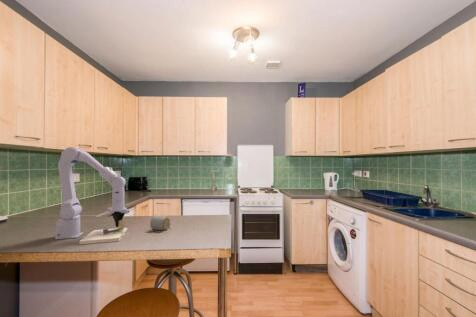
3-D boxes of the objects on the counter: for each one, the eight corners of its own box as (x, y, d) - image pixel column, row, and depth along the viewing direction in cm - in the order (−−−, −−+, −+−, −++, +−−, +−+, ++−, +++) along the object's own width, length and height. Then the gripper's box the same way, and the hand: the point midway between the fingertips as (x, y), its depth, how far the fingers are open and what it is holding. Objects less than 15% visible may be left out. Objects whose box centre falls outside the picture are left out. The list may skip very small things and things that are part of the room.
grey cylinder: (163, 232, 122) (163, 217, 122) (149, 231, 124) (149, 216, 124) (173, 227, 132) (174, 213, 133) (161, 226, 134) (161, 212, 135)
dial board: (79, 244, 104) (79, 240, 104) (93, 233, 122) (93, 230, 122) (118, 241, 108) (118, 237, 108) (127, 230, 126) (127, 227, 126)
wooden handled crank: (103, 233, 113) (103, 223, 114) (102, 233, 115) (102, 222, 115) (123, 230, 120) (123, 220, 120) (122, 229, 121) (122, 219, 121)
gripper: (134, 199, 122) (134, 226, 121) (116, 198, 128) (116, 223, 128) (122, 201, 115) (122, 229, 115) (104, 200, 122) (103, 226, 122)
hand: (118, 226), depth 121 cm, fingers closed
